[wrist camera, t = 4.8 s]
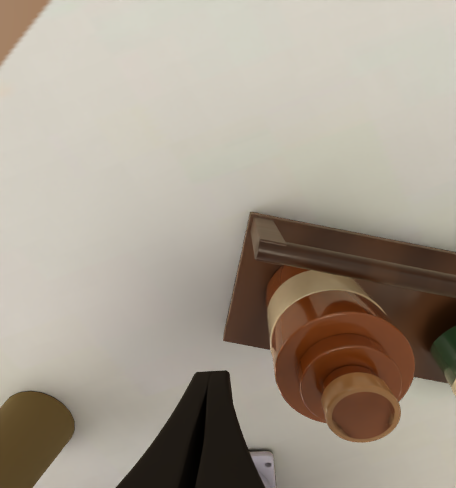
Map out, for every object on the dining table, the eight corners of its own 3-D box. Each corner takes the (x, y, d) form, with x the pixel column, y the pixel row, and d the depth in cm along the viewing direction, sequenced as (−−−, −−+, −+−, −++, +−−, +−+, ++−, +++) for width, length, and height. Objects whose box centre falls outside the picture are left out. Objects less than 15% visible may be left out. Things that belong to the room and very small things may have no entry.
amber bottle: (354, 334, 18) (442, 475, 10) (267, 338, 19) (282, 476, 10) (357, 251, 16) (464, 340, 8) (261, 258, 17) (274, 348, 9)
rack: (560, 272, 17) (718, 327, 12) (493, 385, 20) (596, 475, 14) (250, 211, 17) (255, 236, 11) (223, 334, 20) (217, 405, 14)
